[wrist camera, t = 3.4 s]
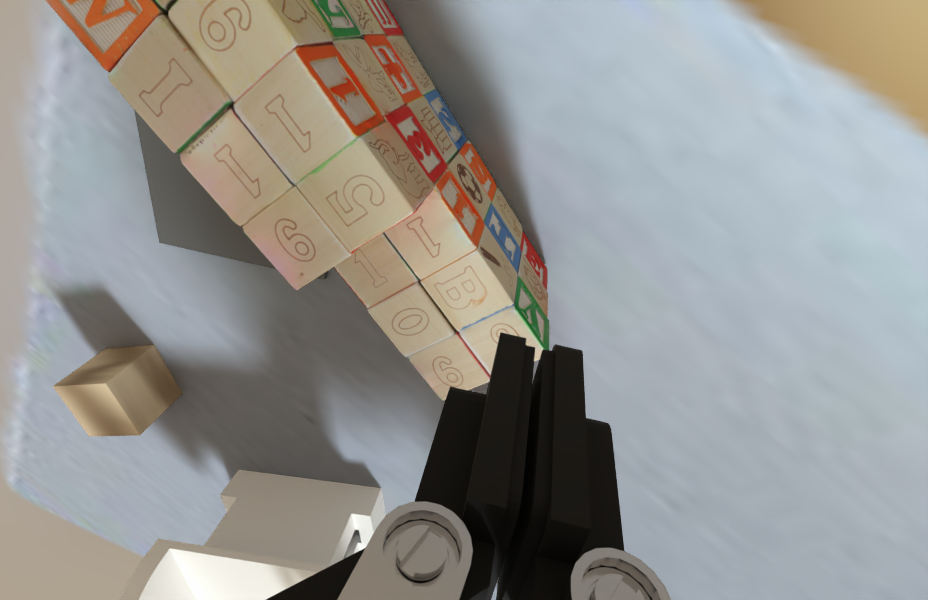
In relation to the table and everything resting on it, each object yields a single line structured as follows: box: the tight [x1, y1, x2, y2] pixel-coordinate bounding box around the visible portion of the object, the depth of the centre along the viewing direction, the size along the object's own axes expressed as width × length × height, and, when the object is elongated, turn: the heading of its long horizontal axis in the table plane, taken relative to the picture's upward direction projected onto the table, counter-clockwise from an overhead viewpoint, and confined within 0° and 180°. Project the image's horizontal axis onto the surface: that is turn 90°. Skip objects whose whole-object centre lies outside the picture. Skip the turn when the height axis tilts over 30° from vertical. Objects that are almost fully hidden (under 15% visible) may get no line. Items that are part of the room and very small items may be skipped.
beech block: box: [53, 345, 183, 436], centre depth 39 cm, size 5×5×5 cm
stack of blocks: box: [46, 0, 549, 401], centre depth 22 cm, size 21×6×12 cm, turn 34°
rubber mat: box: [134, 109, 326, 279], centre depth 29 cm, size 12×19×1 cm, turn 172°
